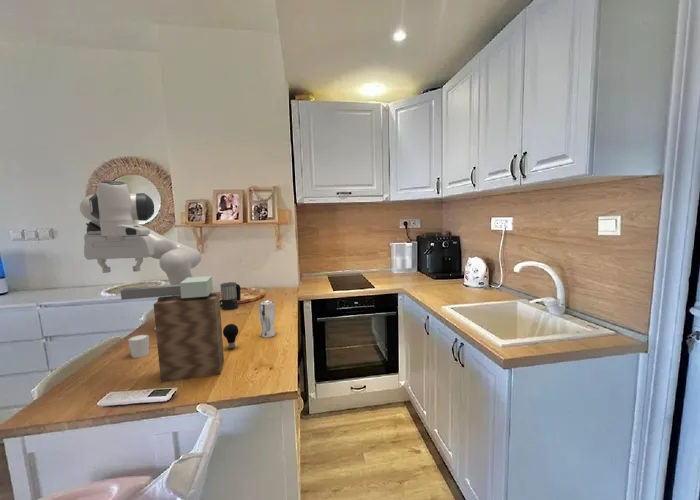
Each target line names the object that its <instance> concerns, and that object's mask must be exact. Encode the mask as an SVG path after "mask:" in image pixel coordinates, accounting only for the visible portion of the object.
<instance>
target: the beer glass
mask: <svg viewBox="0 0 700 500" xmlns="http://www.w3.org/2000/svg"><path fill="white" fill-rule="evenodd" d="M275 307H276V306H275V301H274V300H263V301H260V302H259V303H258V316H259V317H258V318H259V322H260V326H261V335H260V336H261V337H262V338H263V339H264V338H265V339H269V338H273V337H275V335H276V331H275V320H276V319H275V318H276V308H275Z"/></svg>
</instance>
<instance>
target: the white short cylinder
mask: <svg viewBox="0 0 700 500" xmlns="http://www.w3.org/2000/svg"><path fill="white" fill-rule="evenodd" d="M127 341H128V345H129V350H130V354H131V355H130V356H131V358H134V359H135V358H136V359H137V358H142V357H146V356H148V355H149V351H150V349H149V348H150V335H149V334H138V335H134V336H131V337H129V338H128V339H127Z"/></svg>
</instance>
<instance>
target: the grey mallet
mask: <svg viewBox="0 0 700 500" xmlns="http://www.w3.org/2000/svg"><path fill="white" fill-rule="evenodd" d="M213 290H214V287H213V276H212V275H208V276H207V275H205V276H192V277H189V278H186V279H185V280H183V281H182V282H181V283H180V285H170V284H169V285H156V286H153V285H152V286H141V287H127V288H123V289H120V299H121V300H134V299H136V300H137V299H145V298H146V299H147V298H159V297H166V296H174V295H181V298H192V297H204V296H209V294H210V293H213V292H212V291H213Z"/></svg>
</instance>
